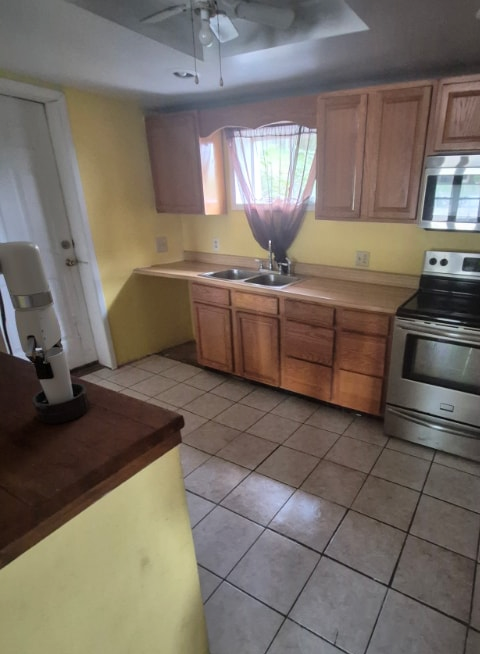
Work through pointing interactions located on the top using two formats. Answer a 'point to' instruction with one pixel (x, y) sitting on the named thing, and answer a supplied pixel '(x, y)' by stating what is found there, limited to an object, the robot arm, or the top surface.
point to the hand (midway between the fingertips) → (52, 371)
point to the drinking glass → (57, 377)
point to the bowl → (61, 406)
